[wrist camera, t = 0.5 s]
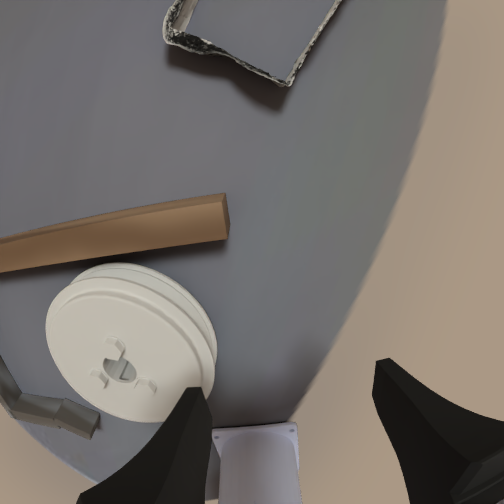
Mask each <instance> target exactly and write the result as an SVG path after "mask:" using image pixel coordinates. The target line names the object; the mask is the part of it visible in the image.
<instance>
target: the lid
mask: <svg viewBox="0 0 504 504" xmlns="http://www.w3.org/2000/svg"><path fill="white" fill-rule="evenodd" d="M46 337H47V342H48V346H49V349H50V352H51V355H52V357H53V359H54V361H55V363H56V365H57V367H58V368H59V370H60V372H61V373H62V375H63V377H64V378H65V379H66V381H67V382H68V383H69V384H70V386H71V387H72V388H73V389H74V390H75V391H76V392H77V393H78V394H79V395H81V396H82V397H83V398H84V399H85V400H87V401H88V402H90V403H91V404H92V405H94V406H96V407H97V408H99V409H101V410H103V411H105V412H107V413H109V414H111V415H114V416H117V417H119V418H122V419H126V420H131V421H137V422H164V421H165V420H166V419H167V417H168V416H169V414H170V413H171V411H172V410H173V408H174V407H175V405H176V403H177V402H178V400H179V399H180V397H181V395H182V394H183V392H184V390H185V389H186V388H187V387H202V390H203V393H204V396H205V399H207V398H208V396H209V394H210V392H211V390H212V387H213V383H214V376H215V364H216V358H217V340H216V335H215V331H214V329H213V326H212V323H211V321H210V319H209V317H208V316H207V314H206V312H205V311H204V309H203V308H202V306H201V305H200V304H199V302H198V301H197V300H196V299H195V298H194V297H193V296H192V295H191V294H190V293H189V292H188V291H187V290H186V289H185V288H183V287H182V286H181V285H180V284H178V283H177V282H175V281H174V280H172V279H171V278H169V277H168V276H166V275H164V274H162V273H160V272H158V271H156V270H153V269H150V268H147V267H145V266H141V265H136V264H132V263H122V262H115V263H105V264H101V265H96V266H94V267H92V268H89V269H87V270H86V271H84V272H82V273H81V274H79V275H78V276H77V277H76V278H75V279H74V280H73V281H72V282H71V284H70V285H69V286H67V287H66V288H64V289H63V290H62V291H61V292H60V293H59V294H58V295H57V296H56V298H55V299H54V300H53V302H52V304H51V306H50V308H49V311H48V314H47V318H46Z"/></svg>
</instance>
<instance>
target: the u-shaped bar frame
mask: <svg viewBox="0 0 504 504" xmlns="http://www.w3.org/2000/svg"><path fill="white" fill-rule="evenodd" d="M229 228H230V220H229V214H228V207H227V200H226V194H225V193H220V194H214V195H207V196H200V197H194V198H188V199H182V200H176V201H170V202H164V203H158V204H153V205H147V206H142V207H136V208H131V209H126V210H121V211H115V212H110V213H105V214H101V215H96V216H91V217H86V218H82V219H77V220H73V221H68V222H64V223H59V224H55V225H51V226H47V227H42V228H38V229H34V230H30V231H26V232H22V233H18V234H15V235H11V236H7V237H3V238H0V273H1V272H7V271H13V270H19V269H25V268H31V267H38V266H44V265H50V264H57V263H63V262H70V261H76V260H83V259H89V258H96V257H102V256H109V255H116V254H123V253H129V252H136V251H143V250H150V249H157V248H164V247H171V246H178V245H186V244H193V243H200V242H207V241H215V240H222V239H228V233H229ZM0 403H1V404H2V406H3V407H4V408H5V410H6V411H7V413H8V414H9V416H10V417H11V418H14V419H18V420H22V421H26V422H30V423H34V424H39V425H43V426H48V427H53V428H58V429H60V428H61V427H62V428H64V429H66V430H68V431H70V432H73V433H75V434H77V435H79V436H82V437H84V438H86V439H89V440H91V438H92V436H93V433H94V431H95V429H96V426H97V424H98V422H99V417H100V413H98V412H96V411H93V410H91V409H88V408H86V407H84V406H81V405H79V404H77V403H75V402H72V401H70V400H68V399H66V398H65V399H56V398H49V397H42V396H35V395H29V394H24V393H22V392H21V391H20V389H19V388H18V386H17V384H16V383H15V381H14V379H13V378H12V376H11V374H10V372H9V371H8V369H7V367H6V365H5V364H4V362H3V360H2V358H1V356H0Z"/></svg>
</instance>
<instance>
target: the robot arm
mask: <svg viewBox="0 0 504 504" xmlns="http://www.w3.org/2000/svg"><path fill="white" fill-rule="evenodd" d="M372 397H373V400H374V403H375V407H376V410H377V413H378V415H379V417H380V420H381V422H382V424H383V426H384V428H385V431H386V433H387V435H388V436H389V439H390V441H391V443H392V446H393V448H394V450H395V452H396V454H397V457H398V460H399V463H400V466H401V470H402V472H403V476H404V480H405V484H406V488H407V492H408V496H409V501H410V504H504V421H500V420H496V419H492V418H489V417H485V416H482V415H479V414H477V413H474V412H472V411H469V410H466V409H464V408H462V407H460V406H458V405H456V404H454V403H452V402H450V401H448V400H447V399H445V398H443V397H441V396H440V395H438V394H437V393H435V392H434V391H432V390H430V389H429V388H427V387H426V386H425V385H423V384H422V383H421V382H419V381H418V380H417V379H415V378H414V377H413V376H411V375H410V374H409V373H408V372H407V371H405V370H404V369H403V368H402V367H400V366H399V365H398V364H397V363H395V362H394V361H393V360H391V359H390V358H386V359H383V360H378V361H376V366H375V375H374V383H373V390H372ZM212 439H213V442H214V444H215V447H216V449H217V452H218V454H219V457H220V459H221V465H220V482H219V501H218V504H302V498H301V491H300V484H299V477H298V470H299V450H298V432H297V424H296V423H295V422H286V423H278V424H269V425H260V426H249V427H235V428H218V429H212V416H211V414H210V411H209V408H208V405H207V402H206V399H205V396H204V393H203V390H202V387H187V388H186V389H185V390H184V392H183V394H182V395H181V397H180V399H179V400H178V402H177V403H176V405H175V407H174V408H173V410H172V411H171V413H170V414H169V416H168V417H167V419H166V420H165V421H164V423H163V424H162V426H161V427H160V428H159V429H158V431H157V432H156V433H155V435H154V436H153V437H152V438H151V440H150V441H149V442H148V443H147V444H146V445H145V446H144V447H143V448H142V449H141V451H140V452H139V453H138V454H137V455H136V456H134V457H133V458H132V459H131V460H130V461H129V462H128V463H127V464H126V465H124V466H123V467H122V468H121V469H120V470H118V471H117V472H115V473H114V474H113V475H111V476H110V477H108V478H107V479H106V480H104V481H102V482H101V483H99V484H97V485H96V486H94V487H92V488H90V489H88V490H86V491H85V492H83V493H81V494H80V496H79V498H78V500H77V503H76V504H205V483H206V476H207V469H208V462H209V456H210V449H211V442H212Z"/></svg>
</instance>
